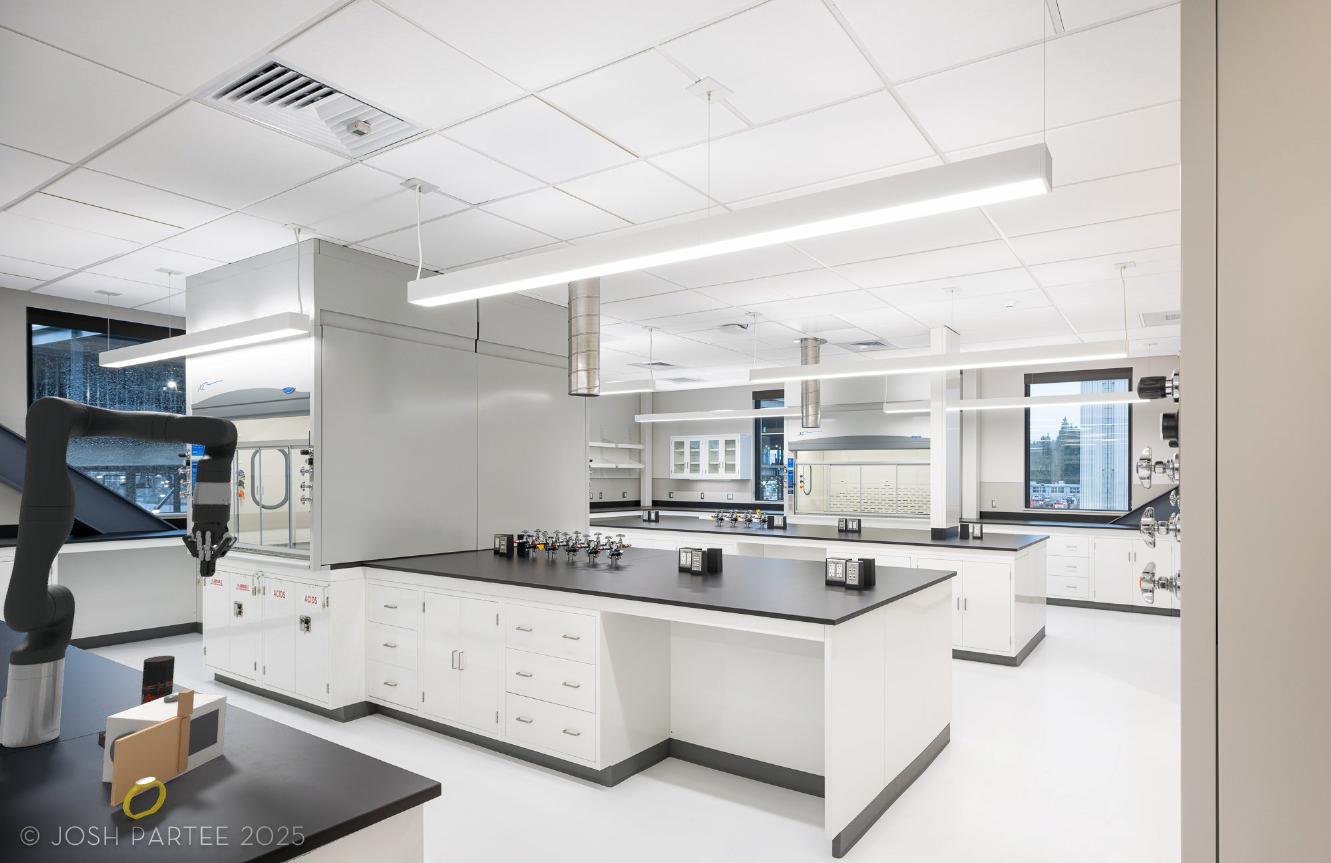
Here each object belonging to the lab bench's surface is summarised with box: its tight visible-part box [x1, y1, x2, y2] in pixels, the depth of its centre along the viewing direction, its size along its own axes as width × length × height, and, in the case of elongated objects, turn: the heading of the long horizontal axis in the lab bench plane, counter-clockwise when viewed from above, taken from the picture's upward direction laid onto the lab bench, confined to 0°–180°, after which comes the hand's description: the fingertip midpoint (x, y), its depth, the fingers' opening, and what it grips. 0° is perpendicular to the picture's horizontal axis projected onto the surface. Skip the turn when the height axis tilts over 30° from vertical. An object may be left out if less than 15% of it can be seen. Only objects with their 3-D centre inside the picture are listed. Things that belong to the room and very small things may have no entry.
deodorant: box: [140, 655, 176, 705], centre depth 165 cm, size 6×6×15 cm
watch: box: [122, 777, 167, 820], centre depth 121 cm, size 6×3×6 cm, turn 151°
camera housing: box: [102, 692, 228, 788], centre depth 140 cm, size 12×18×13 cm
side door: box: [110, 689, 195, 807], centre depth 130 cm, size 2×15×16 cm, turn 171°
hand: (207, 576), depth 163 cm, fingers closed
